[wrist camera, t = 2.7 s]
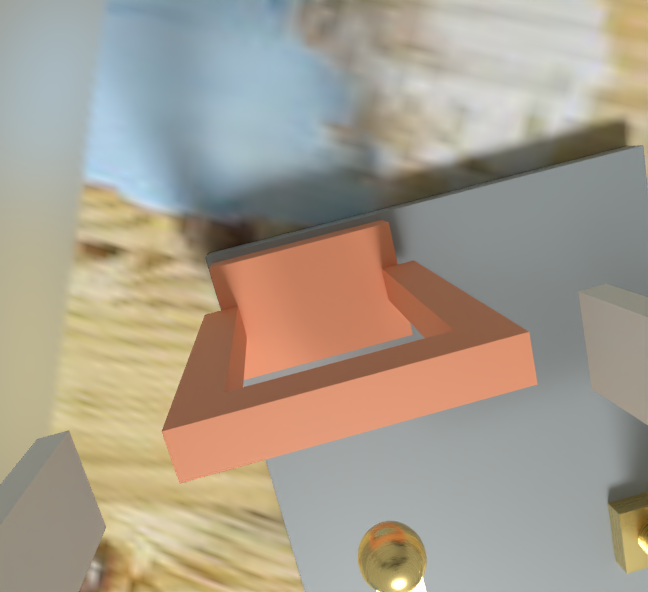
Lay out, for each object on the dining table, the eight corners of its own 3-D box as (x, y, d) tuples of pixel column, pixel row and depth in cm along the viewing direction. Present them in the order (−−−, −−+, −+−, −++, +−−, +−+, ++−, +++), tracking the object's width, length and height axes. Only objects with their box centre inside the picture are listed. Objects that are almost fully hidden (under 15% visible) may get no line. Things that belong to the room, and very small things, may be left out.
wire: (311, 374, 26) (370, 619, 12) (652, 282, 27) (1083, 410, 13) (379, 630, 30) (486, 1050, 16) (678, 542, 30) (1037, 865, 16)
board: (207, 253, 25) (205, 257, 24) (626, 146, 26) (643, 145, 25) (335, 682, 32) (338, 701, 30) (672, 581, 32) (687, 597, 31)
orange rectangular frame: (195, 267, 24) (137, 360, 13) (397, 215, 25) (518, 259, 13) (228, 373, 26) (201, 546, 14) (419, 322, 26) (547, 448, 14)
